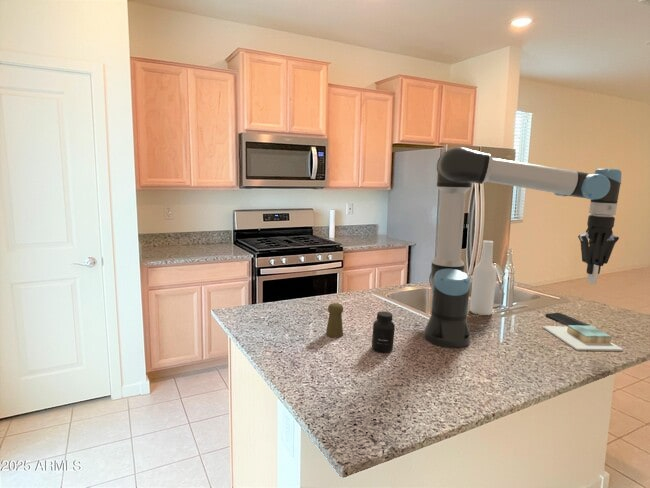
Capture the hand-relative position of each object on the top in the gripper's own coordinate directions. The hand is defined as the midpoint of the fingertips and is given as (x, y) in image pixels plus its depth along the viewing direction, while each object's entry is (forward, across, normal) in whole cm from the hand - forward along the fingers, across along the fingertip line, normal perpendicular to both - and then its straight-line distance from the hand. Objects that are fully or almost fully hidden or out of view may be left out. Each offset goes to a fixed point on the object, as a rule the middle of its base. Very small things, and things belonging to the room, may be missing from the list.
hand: (591, 283), depth 143 cm
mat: (+20, -1, 0) cm, 20 cm away
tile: (+19, -3, 0) cm, 19 cm away
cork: (+21, -88, +1) cm, 91 cm away
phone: (+21, +5, +17) cm, 27 cm away
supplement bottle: (+21, -74, -11) cm, 78 cm away
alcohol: (+21, -26, +26) cm, 42 cm away
